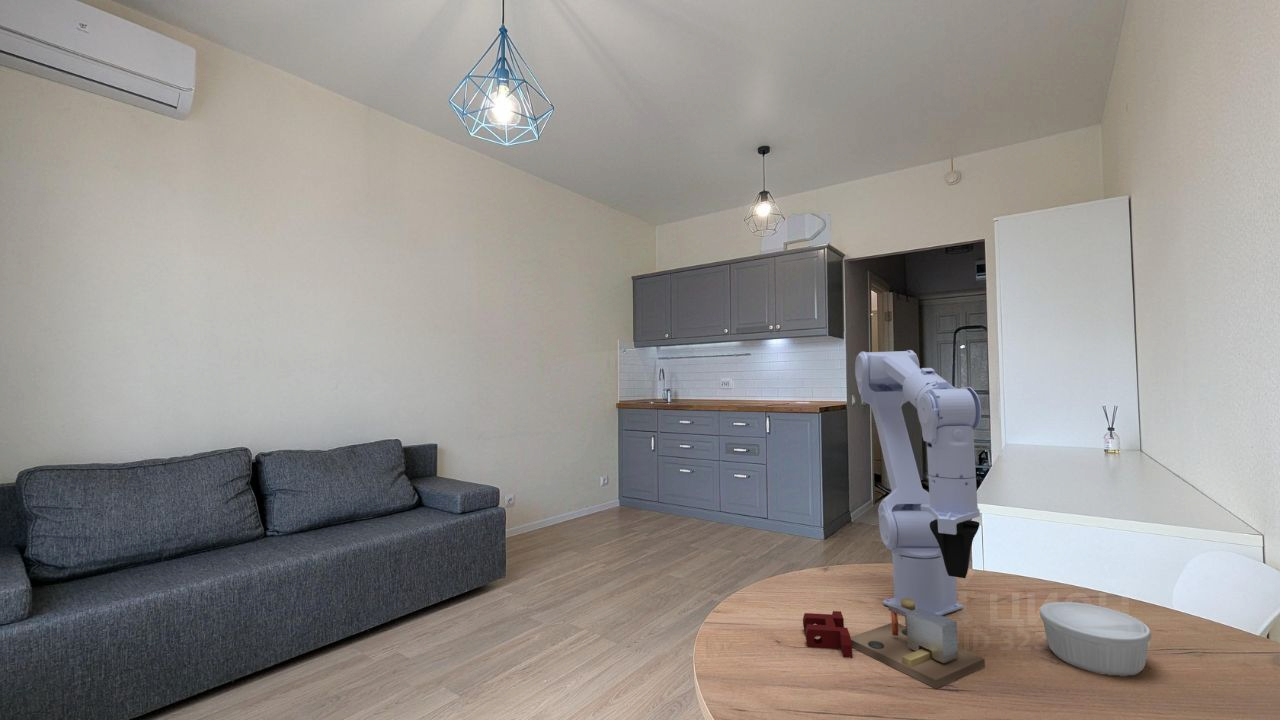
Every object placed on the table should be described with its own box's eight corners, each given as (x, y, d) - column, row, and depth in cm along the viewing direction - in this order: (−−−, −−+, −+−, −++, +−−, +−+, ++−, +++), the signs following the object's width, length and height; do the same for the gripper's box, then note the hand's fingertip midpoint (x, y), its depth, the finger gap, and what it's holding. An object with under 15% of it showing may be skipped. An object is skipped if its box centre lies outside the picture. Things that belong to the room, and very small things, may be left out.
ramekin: (1134, 692, 63) (1131, 645, 64) (1026, 654, 73) (1023, 613, 73) (1167, 664, 69) (1164, 622, 70) (1062, 632, 79) (1060, 595, 79)
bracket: (851, 638, 73) (839, 609, 83) (807, 636, 74) (801, 607, 84) (852, 660, 73) (840, 628, 83) (808, 657, 74) (801, 625, 84)
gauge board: (985, 666, 70) (982, 622, 70) (936, 688, 65) (933, 641, 65) (895, 628, 81) (893, 591, 81) (847, 645, 76) (845, 605, 77)
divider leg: (958, 657, 70) (956, 621, 70) (944, 663, 68) (942, 626, 68) (899, 632, 77) (897, 599, 77) (885, 637, 76) (883, 604, 76)
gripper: (928, 466, 84) (932, 556, 83) (909, 481, 72) (915, 586, 71) (982, 469, 80) (987, 564, 79) (972, 485, 68) (978, 597, 67)
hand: (957, 575), depth 75 cm, fingers closed
